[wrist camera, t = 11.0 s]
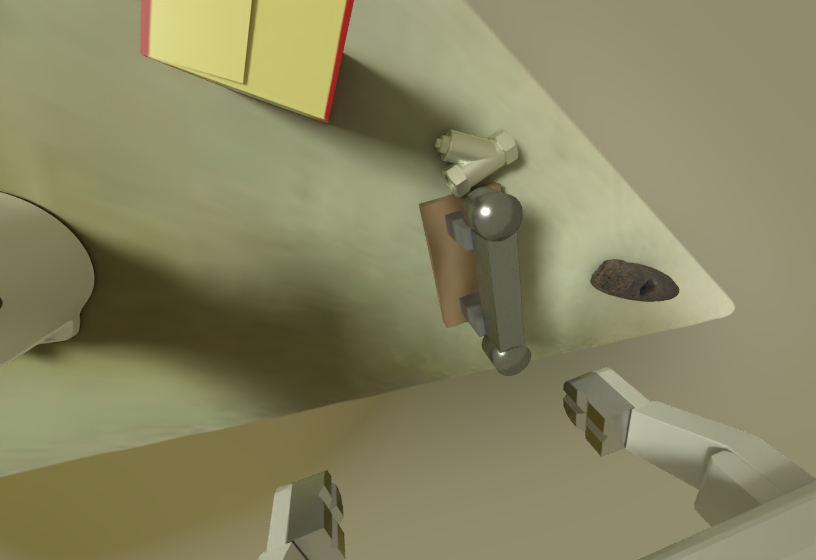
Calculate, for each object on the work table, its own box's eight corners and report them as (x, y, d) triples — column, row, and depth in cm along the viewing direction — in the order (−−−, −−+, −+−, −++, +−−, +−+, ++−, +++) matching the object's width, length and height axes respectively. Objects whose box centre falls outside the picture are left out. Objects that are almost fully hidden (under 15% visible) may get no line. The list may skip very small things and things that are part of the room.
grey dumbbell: (483, 359, 42) (498, 380, 38) (458, 193, 32) (475, 202, 28) (514, 348, 42) (531, 368, 39) (499, 181, 32) (521, 188, 28)
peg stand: (443, 322, 47) (462, 354, 41) (418, 204, 39) (437, 219, 32) (505, 301, 48) (534, 329, 42) (494, 182, 40) (528, 192, 33)
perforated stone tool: (662, 267, 53) (706, 285, 47) (645, 295, 55) (685, 316, 48) (594, 249, 48) (633, 266, 42) (577, 280, 50) (613, 301, 44)
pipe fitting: (423, 144, 37) (451, 195, 39) (432, 143, 33) (462, 199, 36) (482, 103, 36) (506, 157, 39) (497, 98, 33) (523, 157, 35)
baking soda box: (342, 52, 31) (356, -11, 17) (327, 123, 33) (328, 120, 19) (234, 5, 28) (139, -121, 14) (225, 87, 30) (136, 52, 16)
